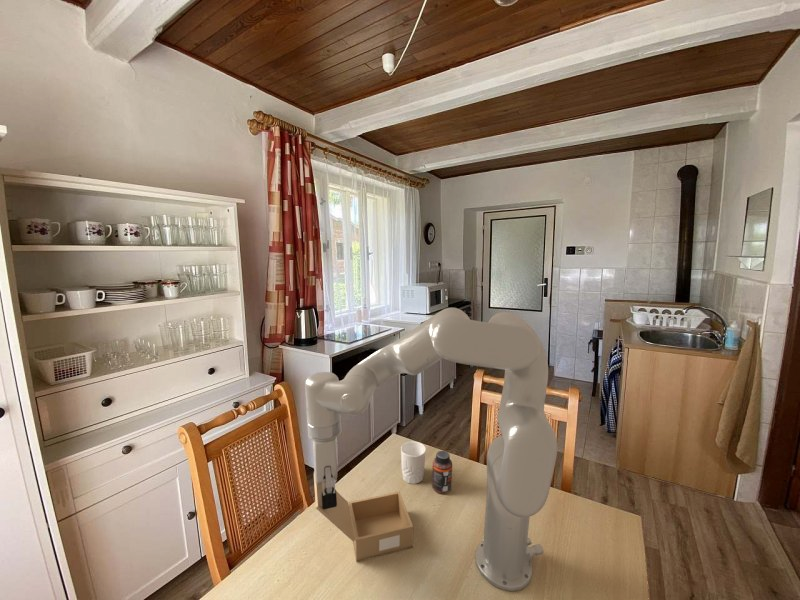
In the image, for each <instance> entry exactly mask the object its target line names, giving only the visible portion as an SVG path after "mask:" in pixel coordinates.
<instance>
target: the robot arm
mask: <svg viewBox="0 0 800 600" xmlns="http://www.w3.org/2000/svg"><path fill="white" fill-rule="evenodd" d="M544 347H545V346H544V345H543V342H542V341H541V339H540V337H539V335H538V333H537V331H535V329H534V328H533V327H532V326H531V325H530V324H529V323H528V322H527V321H526V320H524V319H523V317H522V318H521V317H520V316H519V315H517V314H515V313H513V312H508V311H501V312H498V313H496V314H494V315H493V316H491V318H490V319H489V320H488V322H486V321H481V320H474V319H470V317H469V315H468V314H466V312H464V311H463V310H462V309H460V308H457V307H447V308H444V309H441V311H438V312H437V313H435V314H433V316H430V318H428V319H426V320H425V321H423V322H422V323H421V324H419V325H418V326H416V327H415V328H413V329H412V330H410V331H409V332H408V333H406V334H404V335H403V336H402V337H400V338H398V339H397V340H395V341H393V342H392V343H389V344H387V345H386V346H383V347H382V348H380V349H378V350H376V351H374V352H373V353H372V354H370V355H369V356H367V357H366V358H364V359H362V360H361V361H360V362H359V363H357V364H356V365H354V366H353V367H352V368H351V369H350V370H349V371H348V372H347V373H346V375H345V376H344V378H343V379H342V380H339V377H338V375H336V374H335V373H334V372H330V371H320V372H315V373H313V374H311V375H309V376H307V378H306V380H305V383H304V390H305V391H304V393H305V394H304V395H305V408H306V409H305V411H306V421H307V437H308V438H309V439H310V440H312V453H313V467H314V469H313V470H314V471H313V472H315V482H316V483H317V484H318V483H321V482H322V490H323V492H321V493H322V508H323V509H329V508H333V507H336V506H337V496H336V491H337V489H336V483H335V480H337V478H338V444H337V443H338V442H337V437H339V436H341V435H340V434H341V433H342V418H341V415H347V416H348V415H349V416H358V415H360V414H361V415H362V413H363V412H365V411H366V409H367V408H368V407H369V405H370V402H371V399H372V397H373V394H374V392H375V390H376V389H377V388H378V387H380V386H381V385H382V384H384V383H385V382H387V381H388V380H390V379H392V378H394V377H395V376H397V375H401V374H407V375H410V376H417V375H419V374H421V373H423V372H424V371H426V370H427V369H428V368H430V367H432V366H434V365H435V364H436V363H438V362H439V361H441V360H442V359H444V360H446V361H449V362H451V363H456V364H457V363H458V364H463V365H468V366H469V365H470V366H474V367H475V366H476V367H481V368H482V367H483V368H489V369H498V370H504V378H503V386H502V391H501V397H500V401H499V402H500V403H499V407H498V412H497V423H498V426H499V427H498V428H499V429H500V434H501V435H500V436H498V437H495V438H494V440H492V442H491V443H490V445H489V446H488V450H487V454H486V499H485V514H484V528H483V540H482V541H481V542H480V543H479V544H478V546H477V547H476V551H475V563H476V566H477V569H478V571H479V573H480V574H481V575H482V577H483V578H484V579H485V580H486V581H487V582H488V583H490V584H491V585H492V586H495V587H496V588H499V589H500V590H503V591H513V592H515V591H520V590H522V589H525V587H527V586H528V585H529V584H530V582H531V578H532V575H533V566H532V561H531V560H532V559H533V557H535V556H536V557H537V556H540V555H543V554H544V549H543V548H544V547H543V546H542V545H541V544H540V543H539V544H534V545H532V544H533V543H532V539H531V538H530V537H529V528H530V527H529V526H530V517H533V516H534V515H536V514H538V513H539V512H540V511H541V510H542V509H543V508H544V506H545V505H546V502H547V501H548V497H549V494H550V489H551V485H552V480H553V475H554V471H555V466H556V462H557V461H556V460H557V455H558V441H557V436H556V433H555V429H554V428H553V426H552V425H551V422H549V420H548V418H547V416H546V413H545V404H546V403H545V401H546V396H547V387H548V381H549V364H548V358H547V353H546V350H545V348H544ZM324 482H326V488H325V484H324ZM531 545H532V546H531Z"/></svg>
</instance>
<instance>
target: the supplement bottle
mask: <svg viewBox="0 0 800 600" xmlns="http://www.w3.org/2000/svg"><path fill="white" fill-rule="evenodd" d="M450 457H451V456H450V453H449V452H447V451H445V450H438V451H437V452H436V456H435V458H433V460H432V471H431V472H432V474H431V476H432V477H431V487H432V489H433V491H434V492H436V493H437V494H441V495H442V494H443V495H444V494H447V493H449V492H451V490H452V484H453V483H452V480H453V479H452V478H453V477H452V476H453V461H452V459H450Z"/></svg>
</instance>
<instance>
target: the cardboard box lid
mask: <svg viewBox="0 0 800 600" xmlns="http://www.w3.org/2000/svg"><path fill="white" fill-rule="evenodd" d="M313 483H314V484H313V485H314V488H313V489H314V499H315V500H314V501H315V509H316V510H317V511H318V512H320V513H321V514H322V515H323V516H324V518H327V520H329V521H330V522H331V524H333V525H334V526H335V527H336V528H337V529H339V531H341V532H342V534H344V535H345V536H346V537H348V539H350V540H351V541H352V543H353V542H354V541H355V536H354V530H353V525H352V519H351V514H350V509H349V501H347V500H346V499H345V498H344V497H343V496H342V495H341V494H340V493H339V492H338V491H337V490H336V496H337V506H336V507H333V508H329V509H323V508H322V493H321V492H323V490H322V482H321V483H318V484H317V483H316V482H315V471H313ZM324 484H325V488H326V482H324Z"/></svg>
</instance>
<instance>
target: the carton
mask: <svg viewBox="0 0 800 600" xmlns="http://www.w3.org/2000/svg"><path fill="white" fill-rule="evenodd" d="M348 503H349V509H350V514H351V519H352V525H353V530H354V536H355V541H354V542H353V541H352V544H353V550H354V556H355V560H356V563H357V562H361V561H366V560H370V559H372V558H377V557H380V556H384V555H388V554H394V553H396V552H400V551H404V550H407V549H412V548H414V525H413V522H412V520H411V517H410V514H409V513H408V512H409V511H408V510H407V507H406V505H405V502H404V499H403V497H402V495H401V492H400V491H397V492H390V493H386V494H382V495H377V496H372V497H367V498H362V499H357V500H353V501H348Z"/></svg>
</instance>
